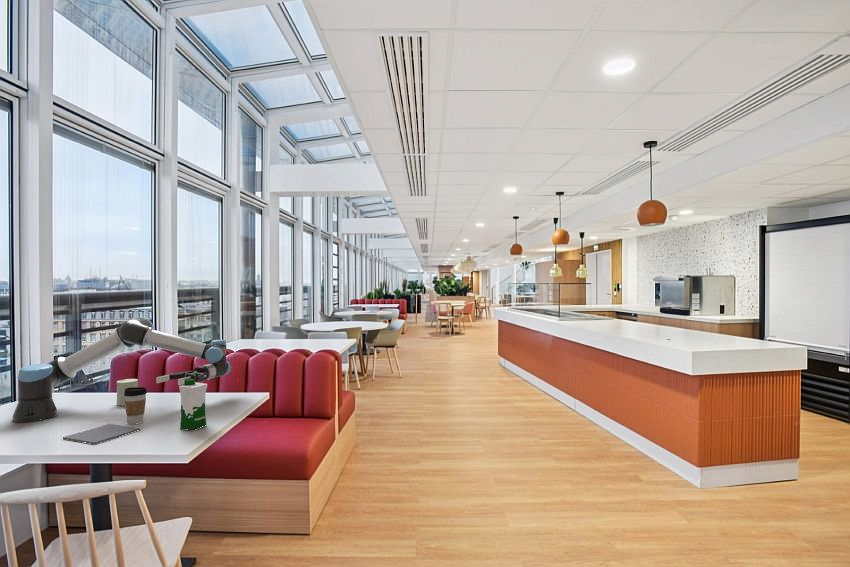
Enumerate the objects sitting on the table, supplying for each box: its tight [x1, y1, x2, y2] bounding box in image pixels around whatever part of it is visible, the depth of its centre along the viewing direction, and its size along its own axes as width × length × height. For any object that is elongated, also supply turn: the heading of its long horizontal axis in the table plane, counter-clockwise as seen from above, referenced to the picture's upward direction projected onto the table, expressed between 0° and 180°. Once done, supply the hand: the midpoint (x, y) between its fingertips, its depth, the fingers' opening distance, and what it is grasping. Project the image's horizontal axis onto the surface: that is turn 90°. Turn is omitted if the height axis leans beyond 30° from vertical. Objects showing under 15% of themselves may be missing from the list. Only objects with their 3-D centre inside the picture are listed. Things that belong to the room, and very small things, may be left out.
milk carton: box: [178, 379, 208, 431], centre depth 187 cm, size 9×9×20 cm
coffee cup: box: [124, 386, 148, 425], centre depth 194 cm, size 8×8×15 cm
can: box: [116, 378, 139, 406], centre depth 227 cm, size 9×9×12 cm
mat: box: [62, 423, 141, 445], centre depth 178 cm, size 18×18×1 cm
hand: (167, 381), depth 208 cm, fingers open, 13 cm apart
